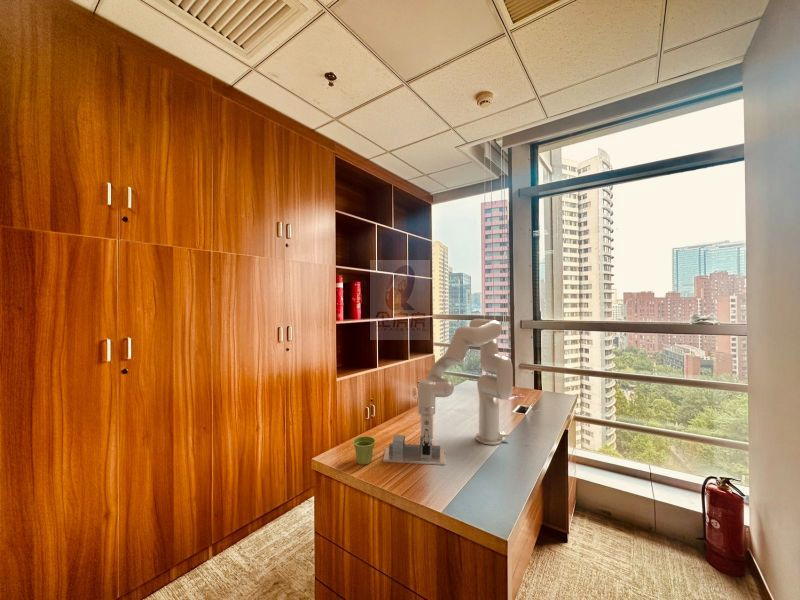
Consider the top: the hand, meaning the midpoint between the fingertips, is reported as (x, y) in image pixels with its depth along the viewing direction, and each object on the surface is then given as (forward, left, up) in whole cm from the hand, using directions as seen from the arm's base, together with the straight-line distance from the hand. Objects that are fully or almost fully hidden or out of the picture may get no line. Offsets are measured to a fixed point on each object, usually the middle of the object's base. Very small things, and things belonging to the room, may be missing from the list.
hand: (426, 450), depth 136 cm
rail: (+5, 0, -3) cm, 6 cm away
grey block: (0, 0, -2) cm, 2 cm away
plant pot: (+26, +6, -3) cm, 27 cm away
